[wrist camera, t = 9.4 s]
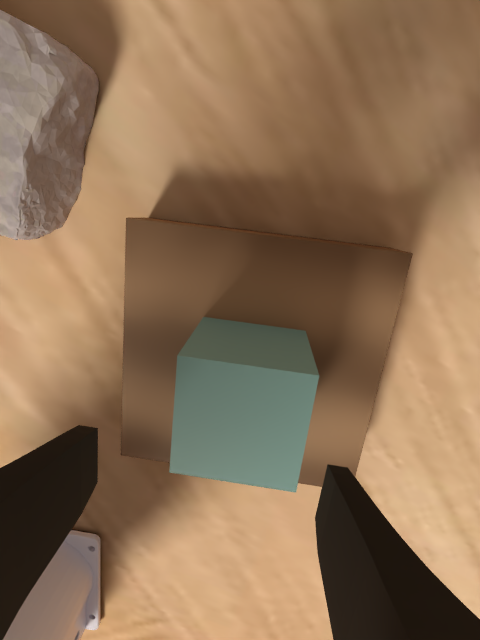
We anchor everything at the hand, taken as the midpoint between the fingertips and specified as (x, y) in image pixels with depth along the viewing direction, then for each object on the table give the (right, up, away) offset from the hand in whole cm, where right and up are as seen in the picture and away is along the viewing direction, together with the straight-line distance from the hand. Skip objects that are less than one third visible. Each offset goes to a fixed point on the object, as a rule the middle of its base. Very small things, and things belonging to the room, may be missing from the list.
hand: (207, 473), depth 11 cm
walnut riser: (+2, +3, +10) cm, 10 cm away
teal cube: (+1, +2, +7) cm, 7 cm away
